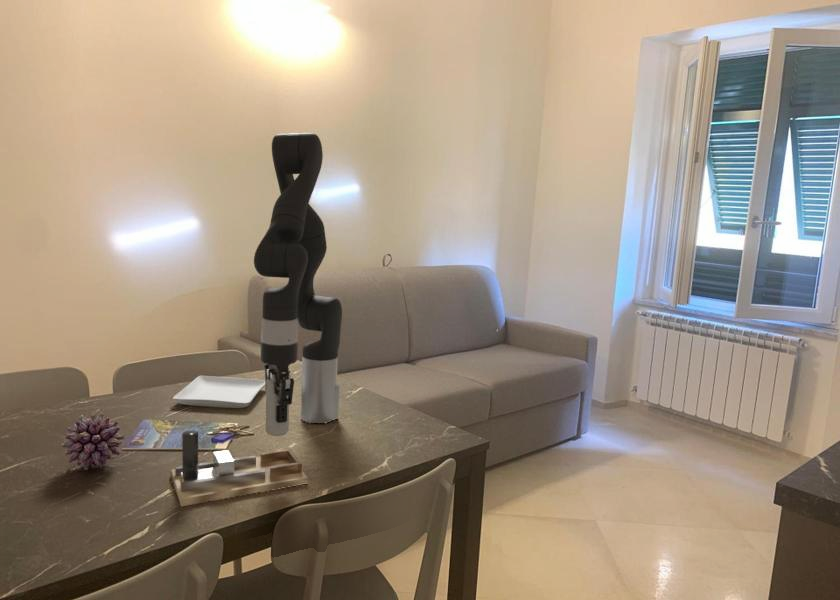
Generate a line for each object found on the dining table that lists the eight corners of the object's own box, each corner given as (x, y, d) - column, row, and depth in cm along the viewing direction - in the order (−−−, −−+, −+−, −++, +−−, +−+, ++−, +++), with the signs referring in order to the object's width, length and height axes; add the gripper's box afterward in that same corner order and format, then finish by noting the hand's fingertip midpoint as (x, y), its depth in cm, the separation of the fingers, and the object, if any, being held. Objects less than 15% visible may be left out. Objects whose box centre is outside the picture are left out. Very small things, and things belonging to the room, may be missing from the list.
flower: (48, 472, 132) (46, 417, 130) (96, 452, 143) (95, 401, 141) (91, 484, 128) (89, 428, 126) (137, 462, 139) (136, 410, 137)
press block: (227, 467, 135) (228, 423, 133) (234, 479, 130) (234, 433, 128) (180, 474, 130) (180, 429, 129) (184, 487, 125) (184, 440, 123)
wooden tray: (287, 458, 145) (288, 443, 145) (307, 484, 133) (308, 468, 133) (170, 476, 133) (170, 460, 133) (181, 506, 121) (180, 489, 121)
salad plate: (249, 413, 173) (249, 401, 173) (171, 409, 173) (170, 397, 173) (268, 390, 194) (268, 379, 193) (198, 385, 194) (198, 375, 194)
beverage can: (283, 438, 133) (284, 382, 131) (261, 435, 134) (262, 379, 132) (292, 430, 137) (293, 376, 135) (271, 427, 138) (272, 373, 136)
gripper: (308, 346, 128) (305, 427, 131) (287, 331, 140) (285, 405, 143) (270, 348, 124) (269, 431, 127) (252, 332, 137) (251, 408, 139)
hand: (277, 417), depth 135 cm, fingers closed on beverage can, 4 cm apart
